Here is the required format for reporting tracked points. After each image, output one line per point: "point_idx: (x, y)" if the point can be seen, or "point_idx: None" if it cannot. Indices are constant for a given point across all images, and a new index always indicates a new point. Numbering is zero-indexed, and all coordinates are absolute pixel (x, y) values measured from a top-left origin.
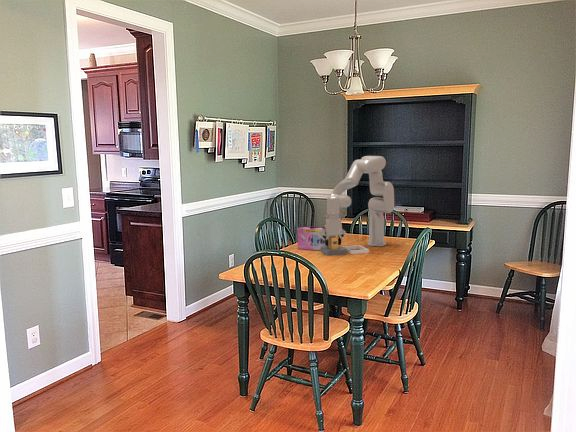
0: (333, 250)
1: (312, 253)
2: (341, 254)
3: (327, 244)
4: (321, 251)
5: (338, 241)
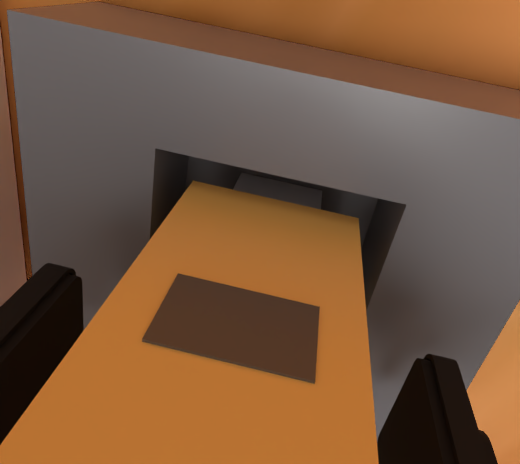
0: (409, 93)
1: (500, 445)
2: (191, 26)
3: (467, 396)
4: None
5: None
